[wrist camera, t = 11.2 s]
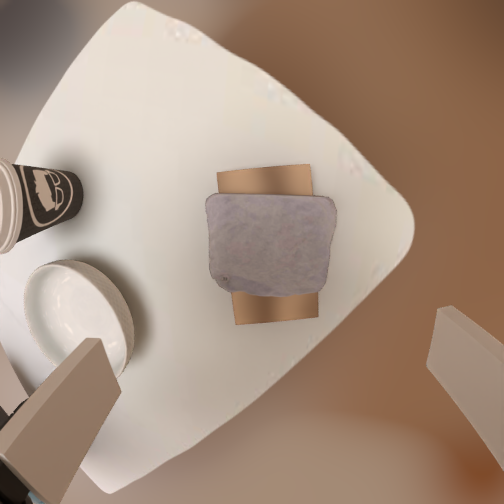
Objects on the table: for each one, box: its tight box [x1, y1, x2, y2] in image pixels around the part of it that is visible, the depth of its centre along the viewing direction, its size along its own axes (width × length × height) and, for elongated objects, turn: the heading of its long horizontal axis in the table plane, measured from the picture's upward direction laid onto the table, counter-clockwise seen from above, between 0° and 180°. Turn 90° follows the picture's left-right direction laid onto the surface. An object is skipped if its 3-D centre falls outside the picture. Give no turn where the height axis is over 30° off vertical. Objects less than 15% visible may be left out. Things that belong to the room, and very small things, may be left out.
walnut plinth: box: [217, 164, 318, 325], centre depth 30 cm, size 9×16×4 cm, turn 6°
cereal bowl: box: [24, 260, 135, 379], centre depth 32 cm, size 17×17×7 cm
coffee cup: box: [0, 158, 83, 254], centre depth 24 cm, size 10×10×15 cm
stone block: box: [205, 193, 337, 297], centre depth 27 cm, size 12×5×10 cm
